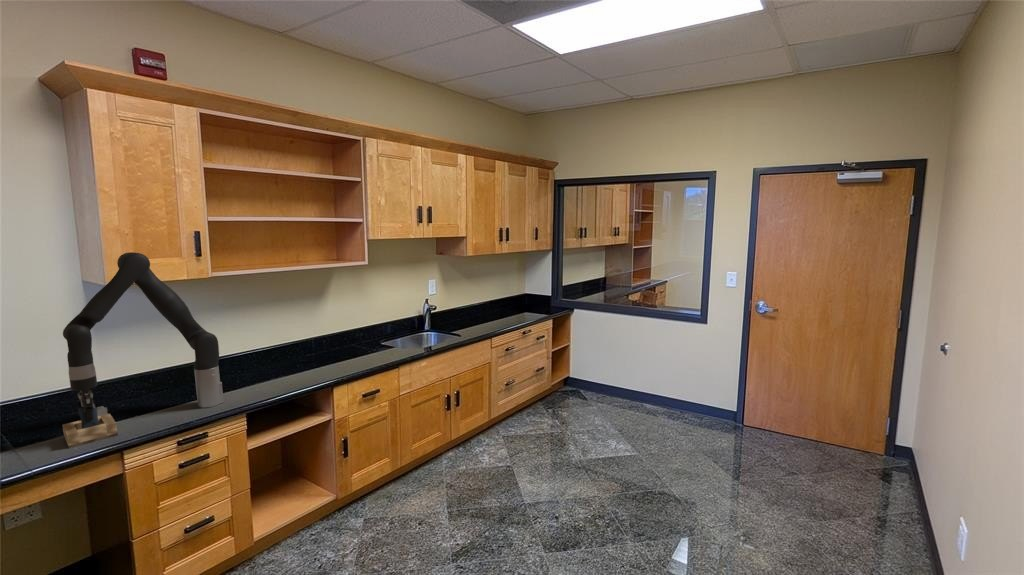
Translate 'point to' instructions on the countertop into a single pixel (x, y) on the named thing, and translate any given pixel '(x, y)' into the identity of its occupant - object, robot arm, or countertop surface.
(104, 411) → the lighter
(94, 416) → the vaping device
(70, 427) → the block
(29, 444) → the countertop surface
